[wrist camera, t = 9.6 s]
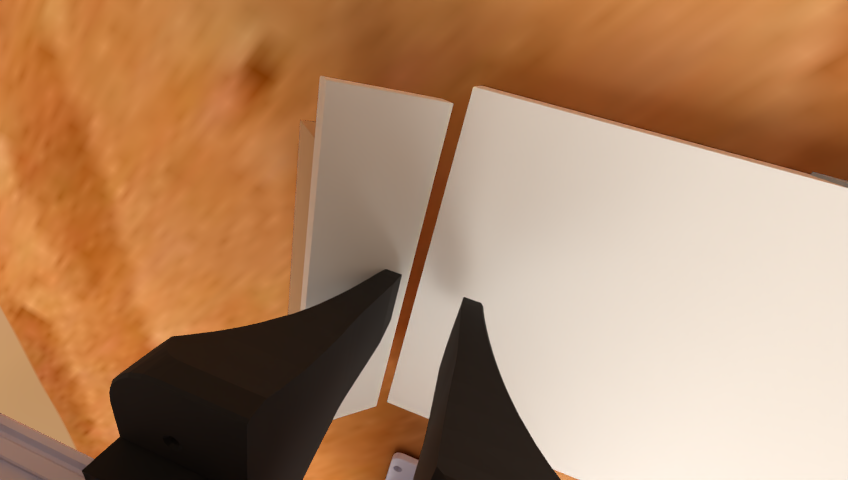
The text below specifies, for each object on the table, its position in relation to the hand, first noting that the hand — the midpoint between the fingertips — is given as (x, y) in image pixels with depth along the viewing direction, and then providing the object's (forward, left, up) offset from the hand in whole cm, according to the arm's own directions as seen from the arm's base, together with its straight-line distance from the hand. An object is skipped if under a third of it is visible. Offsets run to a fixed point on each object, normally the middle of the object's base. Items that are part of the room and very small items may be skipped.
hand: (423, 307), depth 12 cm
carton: (0, -10, -3) cm, 11 cm away
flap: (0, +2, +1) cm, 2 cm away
